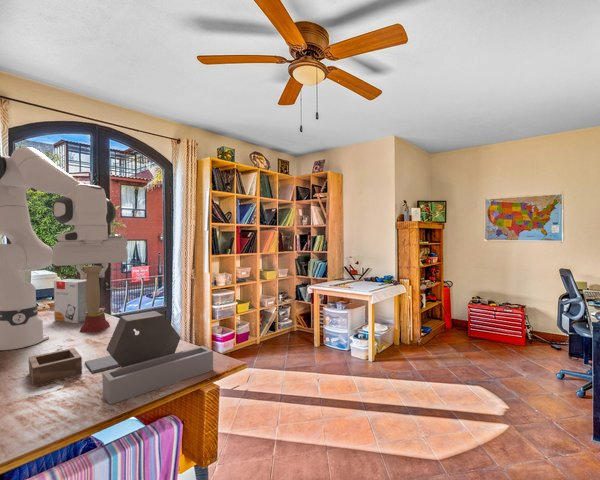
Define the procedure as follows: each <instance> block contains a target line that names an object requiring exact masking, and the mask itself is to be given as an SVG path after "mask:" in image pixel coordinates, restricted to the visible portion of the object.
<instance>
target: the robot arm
mask: <svg viewBox="0 0 600 480" xmlns="http://www.w3.org/2000/svg"><path fill="white" fill-rule="evenodd" d="M29 190H30V191H32V192H34V193H36V192H38V191H39V192H43V193H48V194H55V195H59V197H58V198H56V200H55V201H54V202H53V203H52V215H53V218H54V219H55V220H56V221H57V222H58V223H60V224H61V225H66V226H67V225H68V226H74V229H73V230H68V231H65V232H62V233H59V234H57V235H56V240H57V242H56V243H55V244H54V246H53V248H52V247H51V246H49V245H48V244H46V243H44V242H43V241H42V239H40V238H39V237H38V235H37V234H36V232H35V231H34V228H33V225H32V222H31V218H30V216H31V215H30V211H29V205H28V200H27V192H28V191H29ZM60 195H61V196H60ZM106 195H107V194H106V191H105V189H104V187H102V186H100V185H93V184H87V183H83V182H81V180H79V179H77V178H76V177H75V176H72V175H71V174H69V173H68V172H66V171H65V170H63V169H62V168H61V167H59V166H58V165H56V164H55V163H54V162H53V161H52V160H51V159H50V158H49V157H48V156H47V155H45V154H44V153H42V152H41V151H39V150H38V149H36V148H33V147H29V146H22V147H18V148H16V149H14V151H13V152H12V153H11V156H6V155H1V154H0V235H1V236H2V235H3V236H4V237H6V238H7V239H8V240H9V242H10V243H2V244H0V351H9V350H10V351H11V350H17V349H22V348H26V347H30V346H33V345H36V344H38V343H41V342H43V341H45V340H46V341H47V340H48V339H50V335H47V334H45V333H44V322H43V318H41V317H39V316H38V314H39V308H38V305H37V293H36V292H37V291H36V287H35V284H33V283H31V282H28V281H26V280H24V279H22V276H21V272H30V271H31V272H32V271H38V270H41V269H46V268H48V267H50V266H51V265H52V264H53V265H54V266H56V267H63V266H75V269H76V270H77V271H78V272H79V275H80V277H79V279H80V280H86V279H87V273H84V272H83V267H84V266H83V265H95V264H101V266H102V270H101V271H100V272H99V278H105V274H106V273H105V272H106V271H107V269H108V268H109V264H112V263H126V262H127V261H128V260H129V259H128V258H129V255H128V248H127V247H128V237H126V236H125V235H123V234H109V232H108V231H109V230H108V228H109V227H108V226H109V225H111V224H112V223H113V222H114V221H115V219H116V217H117V209H116V207H115V205H114V203H113V202H112V201H111V200H110V199H108V198H107V196H106Z"/></svg>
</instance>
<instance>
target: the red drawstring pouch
mask: <svg viewBox="0 0 600 480" xmlns="http://www.w3.org/2000/svg"><path fill="white" fill-rule="evenodd" d="M99 308H100V309H99V312H98V313H96V314H88V313H87V310H86V311H84V312H85V313H86V316H85V321H83V322H84V324H83V325H82V326H81V327H80V330H79V333H100V332H102V331H104V330H107V329H109V328H110V327H111V325H110V322H108V320H107V319H106V316H105V310H106V307H99Z"/></svg>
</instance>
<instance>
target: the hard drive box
mask: <svg viewBox="0 0 600 480" xmlns="http://www.w3.org/2000/svg"><path fill="white" fill-rule="evenodd" d="M53 294H54V295H53V301H54V302H53V306H54V307H53V310H54V313H53V314H54V321H56V322H65V323H72V324H73V323H74V324H81V323H83V322H85V316H86V313H85V312H84V311H86V310H88V309H87V306H86V279H77V278H64V279H56V280H53Z"/></svg>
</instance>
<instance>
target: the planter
mask: <svg viewBox="0 0 600 480" xmlns="http://www.w3.org/2000/svg"><path fill="white" fill-rule="evenodd" d="M135 331H136V332H139V333H138V334H136V332H135ZM180 340H181V335H180V334H179V332H177V331H176V329H175V328H174V327H173V326H172V324H171V323H170V322H169V320H167V318H166V317H165V315H164V314H161V313H160V312H158V311H156V310H152V311H146V312H145V311H144V312H140V313H134V314H133V313H132V314H128V315H122V316H120V317H119V319H118V322H117V324H116V326H115V328H114V331H113V333H112V335H111V337H110V340H109V342H108V345H107V347H106V351H107V353H108V354H109V356H110V355H111V356H112V358H113V359H114V360H115V361H116V362H117V363H118V364H119V365H120V366H119V367H120V368H122V367H126V366H129V365H133V364H137V363H141V362H144V361H148V360H152V359H155V358H159V357H163V356H167V355H170V354H174V353H176V351H177V348H178V347H179V346H178V345H179V343H180Z"/></svg>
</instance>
